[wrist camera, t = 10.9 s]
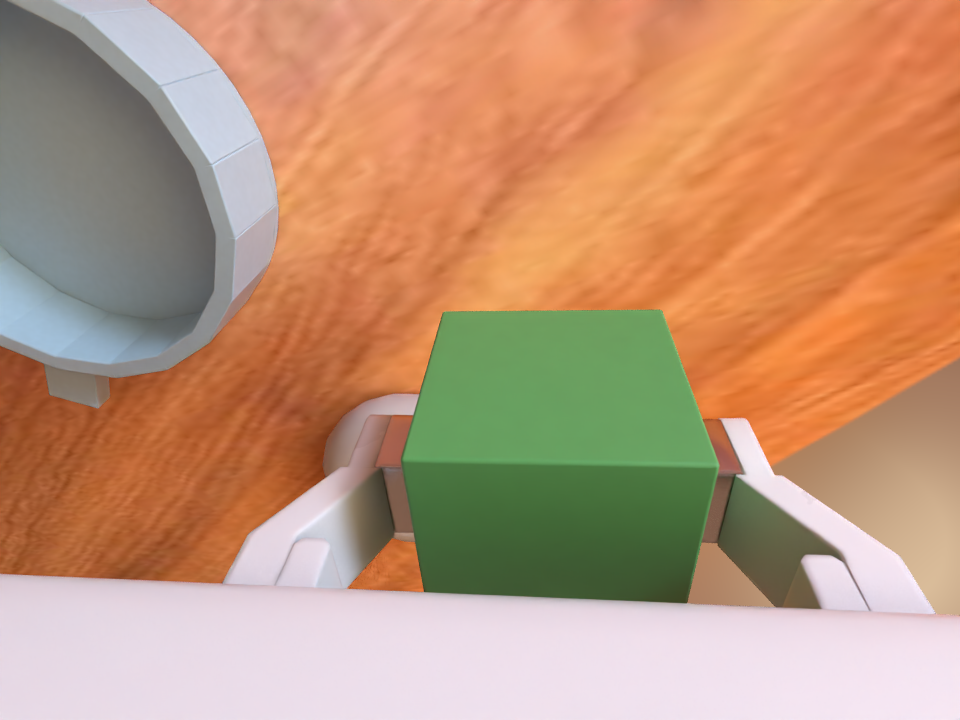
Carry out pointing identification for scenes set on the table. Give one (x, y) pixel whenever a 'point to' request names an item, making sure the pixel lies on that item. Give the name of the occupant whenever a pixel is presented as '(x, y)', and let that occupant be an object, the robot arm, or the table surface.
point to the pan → (122, 193)
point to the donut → (351, 427)
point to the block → (558, 458)
